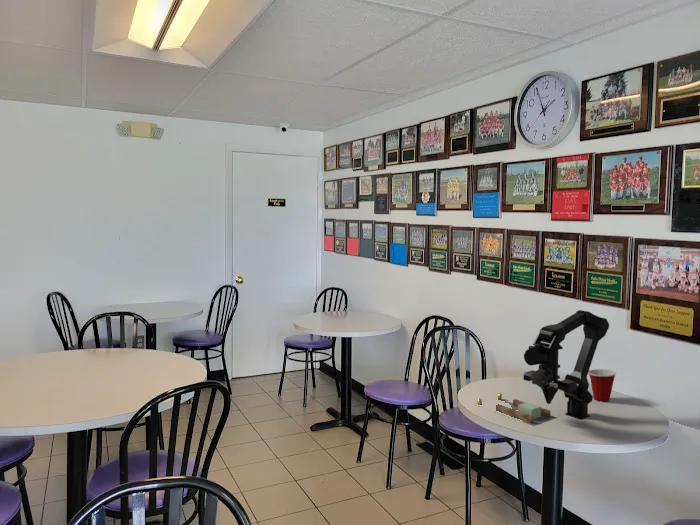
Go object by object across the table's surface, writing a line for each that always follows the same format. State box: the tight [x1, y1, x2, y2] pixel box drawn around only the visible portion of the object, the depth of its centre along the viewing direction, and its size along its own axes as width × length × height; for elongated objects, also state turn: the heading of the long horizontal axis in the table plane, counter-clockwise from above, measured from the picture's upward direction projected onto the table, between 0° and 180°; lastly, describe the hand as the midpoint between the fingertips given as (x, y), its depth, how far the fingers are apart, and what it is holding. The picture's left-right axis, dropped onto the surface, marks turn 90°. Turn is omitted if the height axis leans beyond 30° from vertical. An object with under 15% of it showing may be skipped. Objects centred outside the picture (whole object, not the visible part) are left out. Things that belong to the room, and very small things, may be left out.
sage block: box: [518, 401, 542, 419], centre depth 202 cm, size 6×6×4 cm
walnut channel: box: [496, 399, 552, 424], centre depth 205 cm, size 16×12×2 cm
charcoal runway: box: [503, 399, 557, 427], centre depth 208 cm, size 28×14×1 cm, turn 35°
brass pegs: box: [477, 392, 503, 405], centre depth 218 cm, size 2×14×2 cm, turn 125°
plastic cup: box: [588, 368, 617, 403], centre depth 221 cm, size 11×11×12 cm
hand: (548, 403), depth 195 cm, fingers closed
